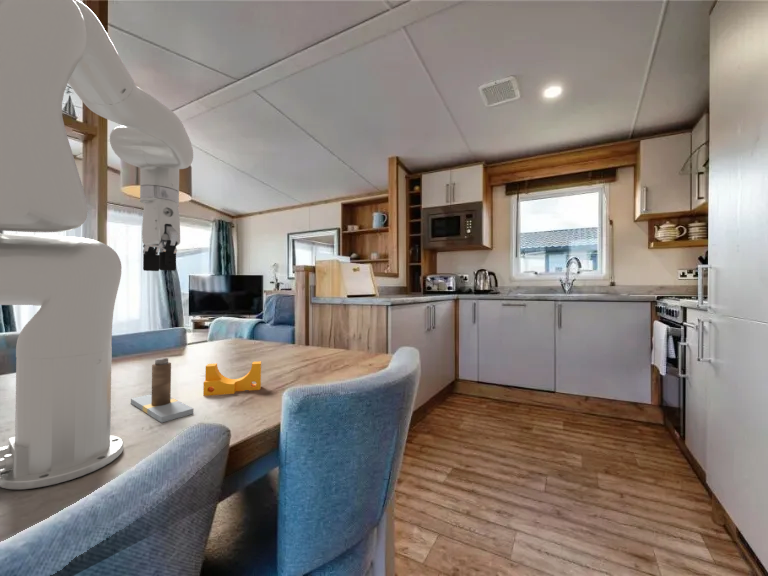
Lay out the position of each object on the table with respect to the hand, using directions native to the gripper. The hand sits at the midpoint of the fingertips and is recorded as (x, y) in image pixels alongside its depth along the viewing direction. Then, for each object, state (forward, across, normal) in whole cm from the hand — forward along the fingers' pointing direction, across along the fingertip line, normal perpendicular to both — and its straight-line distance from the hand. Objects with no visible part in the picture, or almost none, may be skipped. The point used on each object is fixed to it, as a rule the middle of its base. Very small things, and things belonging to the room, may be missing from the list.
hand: (159, 270), depth 77 cm
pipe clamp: (+29, -14, -11) cm, 34 cm away
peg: (+27, -13, +4) cm, 30 cm away
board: (+28, -13, +4) cm, 31 cm away
